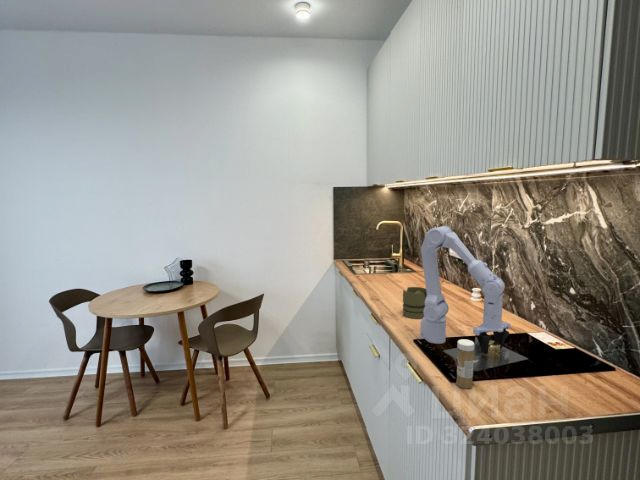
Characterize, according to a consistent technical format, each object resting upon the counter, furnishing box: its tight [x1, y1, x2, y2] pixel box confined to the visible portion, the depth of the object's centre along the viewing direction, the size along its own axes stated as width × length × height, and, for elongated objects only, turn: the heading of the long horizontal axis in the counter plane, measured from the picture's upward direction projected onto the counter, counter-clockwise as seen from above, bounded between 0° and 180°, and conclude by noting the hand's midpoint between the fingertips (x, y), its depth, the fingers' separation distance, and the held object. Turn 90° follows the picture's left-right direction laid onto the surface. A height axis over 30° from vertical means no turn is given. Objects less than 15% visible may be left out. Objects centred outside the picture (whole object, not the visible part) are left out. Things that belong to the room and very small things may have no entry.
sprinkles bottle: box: [456, 338, 475, 389], centre depth 107 cm, size 5×5×14 cm
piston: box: [402, 286, 427, 320], centre depth 169 cm, size 11×12×11 cm
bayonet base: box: [442, 336, 529, 372], centre depth 125 cm, size 16×22×4 cm
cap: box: [480, 339, 501, 359], centre depth 126 cm, size 9×6×4 cm, turn 20°
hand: (491, 351), depth 126 cm, fingers closed on cap, 5 cm apart
